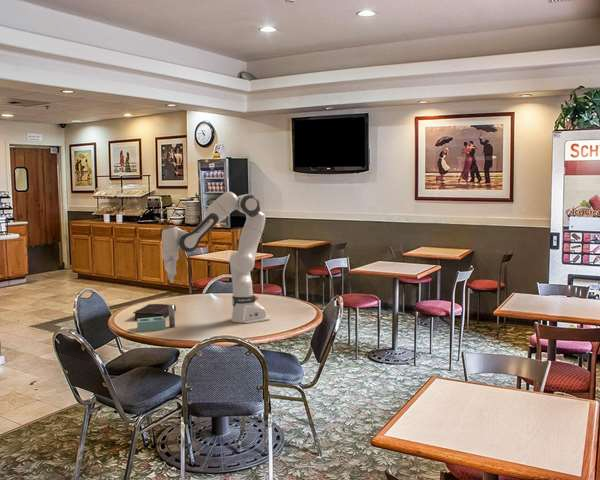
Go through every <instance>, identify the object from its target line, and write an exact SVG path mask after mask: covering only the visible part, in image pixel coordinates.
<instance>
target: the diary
mask: <svg viewBox="0 0 600 480" xmlns="http://www.w3.org/2000/svg"><path fill="white" fill-rule="evenodd" d="M169 305H170V304H166V303H165V304H164V303H149V304H146V305H145V306H144V307H141V308H138V309H136V310H134V311H133V312H132V314H134V319H133V321H137V319H140V318H150V317H161V316H163V317H164V319H166V318H168V317H169ZM173 305H174V313H175V312H176V310H177V307H176V304H173Z"/></svg>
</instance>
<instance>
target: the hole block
mask: <svg viewBox="0 0 600 480" xmlns="http://www.w3.org/2000/svg"><path fill="white" fill-rule="evenodd" d="M136 323H137V330H138V332H139V333H141V332H142V331H144V332H151V331H161V329H163V330H167V329H166V328H167V327H166V324H167V323H166V318H164V317H163V316H161V317H150V318H140V319H137V320H136ZM142 333H143V332H142Z"/></svg>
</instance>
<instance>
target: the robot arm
mask: <svg viewBox="0 0 600 480" xmlns="http://www.w3.org/2000/svg"><path fill="white" fill-rule="evenodd" d="M234 211H237V212H238V213H241V214H243V215H244V214H245V219H246V220H245V222H244V225H243V228H242V231H241V233H240V236H239V239H238V240H239V241H238V242H239V243H238V247H237V251H234V252H232V253H231V255H230V257H229V267H230V275H231V282H232V298H231V301H232V302H231V304H232V312H231V317H230V321H232V322H233V323H241V324H242V323H244V324H251V323H259V322H263V321H270V320H271V316H270V315H269V314H267V310H266V308H265V306H263V305H262V304H261V303H259V302H258V300H259V297H258V296H257V295H254V294H253V280H252V276H251V272H252V271H253V269H254V267H255V265H256V264H255V260H256V256H257V252H258V251H257V250H258V246H259V244H260V240H261V238H262V235H263V231H264V229H265V224H266V215H265V213H264V212H262V211H261V206H260V201H259V199H258V197H257V196H256V195H253V194H248V193H246V194H241V195H237V194H235V193H234V192H232V191H226V192H224V193H222V194H221V195H220V196H218V197H217V198H216V199H214V201H213V202H212V203H211V204H210V205H209V206H208V207H207V209H206V210H205V214H204V215H205V216H204V217H203V220H202V221H201V222H200V223H199V224H198V225H197V226H195V228H194V229H192V230H190V231H186V230H183V229H181V228H180V227H178V226H176V225H170V226H166V227H164V228H163V229H162V231H161V244H162V248H161V259H162V260H163V264H164V269H165V272H167V273H166V275H167V281H169V282H170V283H175V276H176V275H177V260H179V258H180V257H179V255H180V254H179V252H180V251H179V249H181V250H182V251H183V252H186V253H191V252H194V251H195V250H197V248H198V247H199V243H200V242H201V240H202V239H203V238H204V237H205V236H206V235H207V234H208V233H209V232H210V231H211V230H212V229H213V228H214V227H215V226H216V225H218V224H219V223H221V222H222V221H224V220H225V219H226V218H227V217H228V216H229V215H230V214H231V213H232V212H234Z"/></svg>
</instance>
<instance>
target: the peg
mask: <svg viewBox="0 0 600 480" xmlns="http://www.w3.org/2000/svg"><path fill="white" fill-rule="evenodd" d="M168 305H169V316H168V323H169V324H168V325H169V328H175V327H176V320H175V319H176V318H175V315H176V314H175V312H174V305H175V304H168Z"/></svg>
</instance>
